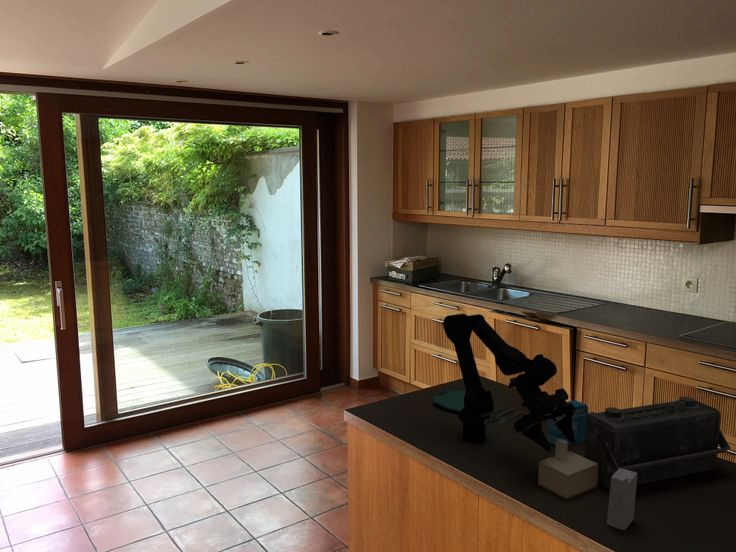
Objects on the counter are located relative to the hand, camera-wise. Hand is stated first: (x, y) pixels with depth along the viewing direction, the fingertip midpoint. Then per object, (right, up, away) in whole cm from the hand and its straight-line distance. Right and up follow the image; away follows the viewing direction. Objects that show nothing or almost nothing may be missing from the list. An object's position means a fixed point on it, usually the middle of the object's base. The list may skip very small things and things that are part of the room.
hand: (562, 447), depth 160 cm
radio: (+26, -10, +6) cm, 29 cm away
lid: (+1, -4, -1) cm, 5 cm away
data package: (+10, -6, +27) cm, 29 cm away
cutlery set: (-14, -2, +55) cm, 56 cm away
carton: (+1, -10, 0) cm, 10 cm away
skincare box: (+8, -13, -18) cm, 23 cm away
